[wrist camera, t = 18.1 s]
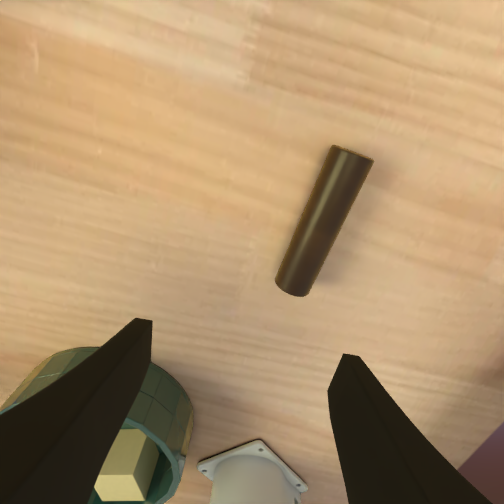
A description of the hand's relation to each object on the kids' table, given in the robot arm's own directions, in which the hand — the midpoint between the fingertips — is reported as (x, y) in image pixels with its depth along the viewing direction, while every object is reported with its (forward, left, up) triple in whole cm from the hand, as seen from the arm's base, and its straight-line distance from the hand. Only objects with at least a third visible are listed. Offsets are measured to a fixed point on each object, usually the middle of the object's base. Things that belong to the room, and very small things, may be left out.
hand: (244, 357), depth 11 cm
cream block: (-11, +22, -9) cm, 26 cm away
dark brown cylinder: (-3, -1, -9) cm, 9 cm away
